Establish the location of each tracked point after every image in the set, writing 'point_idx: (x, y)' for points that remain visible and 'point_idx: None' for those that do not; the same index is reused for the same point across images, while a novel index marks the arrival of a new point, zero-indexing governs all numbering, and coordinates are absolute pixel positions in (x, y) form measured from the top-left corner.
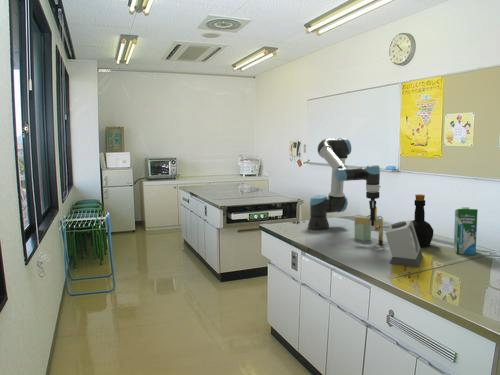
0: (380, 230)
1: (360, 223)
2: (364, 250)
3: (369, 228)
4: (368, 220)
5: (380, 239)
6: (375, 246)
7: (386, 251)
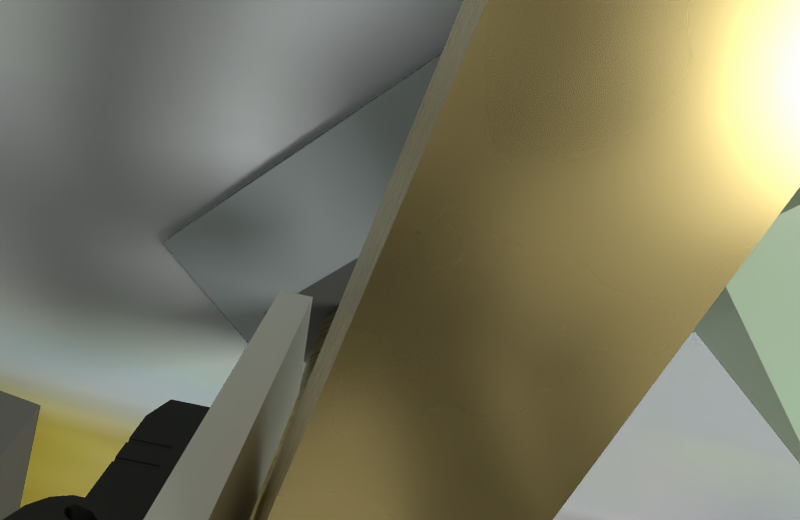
0: (261, 491)
1: (435, 75)
2: (37, 27)
3: (713, 344)
4: (279, 466)
5: (304, 370)
6: (227, 237)
7: (68, 321)
